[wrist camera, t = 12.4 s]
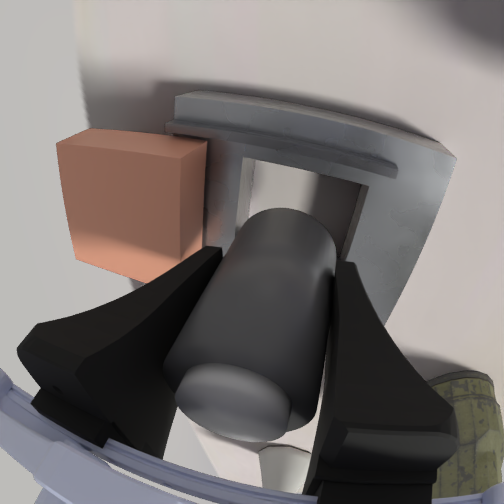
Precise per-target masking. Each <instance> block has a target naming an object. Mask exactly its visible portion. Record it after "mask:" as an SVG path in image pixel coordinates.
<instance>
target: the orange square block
mask: <svg viewBox="0 0 504 504" xmlns="http://www.w3.org/2000/svg"><path fill="white" fill-rule="evenodd" d="M56 147H57V155H58V164H59V172H60V179H61V186H62V192H63V198H64V204H65V209H66V215H67V220H68V225H69V230H70V235H71V239H72V244H73V248H74V252H75V256H76V259H77V260H80V261H83V262H85V263H88V264H91V265H94V266H97V267H100V268H102V269H106V270H109V271H112V272H115V273H117V274H120V275H123V276H126V277H129V278H132V279H135V280H138V281H141V282H144V283H149V282H150V281H152V280H154V279H155V278H157V277H159V276H160V275H162V274H164V273H165V272H167V271H168V270H170V269H171V268H173V267H174V266H176V265H177V264H179V263H180V262H182V261H183V260H185V259H186V258H188V257H189V256H191V255H192V254H194V253H195V252H197V251H198V250H200V249H202V230H203V206H204V185H205V167H206V151H207V141H205V140H198V139H191V138H184V137H176V136H168V135H160V134H151V133H142V132H132V131H121V130H109V129H95V128H89V129H87V130H85V131H82V132H80V133H78V134H75V135H73V136H71V137H69V138H67V139H65V140H62V141H60V142H58V143H56Z"/></svg>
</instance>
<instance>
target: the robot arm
mask: <svg viewBox="0 0 504 504" xmlns="http://www.w3.org/2000/svg"><path fill="white" fill-rule="evenodd" d="M222 259H223V251H222V247H215V246H205V247H203V248H202V249H200V250H198V251H197V252H195V253H194V254H192V255H191V256H189V257H188V258H186V259H185V260H183V261H182V262H180V263H179V264H177V265H176V266H174V267H173V268H171V269H170V270H168V271H167V272H165V273H164V274H162V275H160V276H159V277H157V278H155V279H154V280H152V281H150V282H149V283H147V284H145V285H144V286H142V287H140V288H138V289H136V290H135V291H133V292H131V293H129V294H127V295H125V296H123V297H120V298H118V299H116V300H114V301H111V302H109V303H106V304H104V305H101V306H99V307H96V308H94V309H91V310H88V311H85V312H82V313H79V314H76V315H73V316H69V317H65V318H61V319H57V320H53V321H48V322H43V323H38V324H37V325H35V327H34V328H33V329H32V330H31V332H30V333H29V334H28V335H27V336H26V337H25V339H24V340H23V341H22V342H21V343H20V345H19V346H18V347H17V354H18V357H19V359H20V361H21V362H22V364H23V365H24V367H25V368H26V369H27V370H28V372H29V373H30V375H31V376H32V377H33V379H34V380H35V381H36V382H37V384H38V385H39V386H40V387H41V389H40V390H39V392H38V393H37V394H36V396H35V397H33V396H31V395H30V394H28V393H26V392H25V391H24V390H22V389H21V388H19V387H17V386H16V385H15V384H13V382H12V380H11V379H10V378H9V377H8V375H7V374H6V373H5V372H4V371H3V370H2V369H1V368H0V447H2V448H3V449H4V450H5V451H6V452H7V453H8V454H9V455H10V456H12V457H13V458H14V459H15V460H16V461H17V462H19V463H20V464H21V465H22V466H23V467H25V468H26V469H27V470H28V471H29V472H31V473H32V474H33V477H34V480H35V481H36V482H37V483H38V484H40V485H41V486H42V487H43V489H42V490H41V492H40V494H39V496H38V498H37V500H36V501H35V503H34V504H197V503H194V502H192V501H189V500H186V499H183V498H180V497H177V496H175V495H172V494H170V493H167V492H165V491H162V490H160V489H158V488H155V487H153V486H150V485H148V484H145V483H143V482H141V481H138V480H136V479H133V478H131V477H129V476H127V475H124V474H122V473H120V472H118V471H116V470H114V469H112V468H111V467H110V466H109V465H108V464H107V463H106V462H105V461H103V460H106V461H107V462H109V463H112V464H114V465H116V466H118V467H120V468H122V469H124V470H127V471H129V472H131V473H133V474H136V475H138V476H140V477H143V478H145V479H148V480H151V481H153V482H155V483H158V484H160V485H163V486H166V487H169V488H171V489H174V490H177V491H180V492H183V493H186V494H189V495H192V496H195V497H198V498H202V499H205V500H208V501H212V502H215V503H219V504H504V482H502V483H499V484H496V485H494V486H492V487H490V488H489V489H487V490H486V491H485V492H484V493H479V494H473V495H466V496H458V497H449V498H438V499H432V486H433V484H434V483H436V481H437V469H438V468H439V467H440V466H441V465H443V464H444V463H445V462H446V461H447V460H449V459H450V458H451V457H452V456H453V455H454V454H455V452H456V451H457V450H458V449H459V445H460V438H459V428H458V423H457V418H456V414H455V410H454V408H453V407H452V406H451V405H450V404H449V403H448V402H447V401H446V400H445V399H444V398H442V397H441V396H440V395H439V394H438V393H437V392H436V391H435V390H434V389H433V388H432V387H431V386H430V385H429V384H428V383H427V382H426V381H425V380H424V379H423V378H422V377H421V376H420V375H419V374H418V372H417V371H416V370H415V369H414V368H413V366H412V365H411V364H410V363H409V362H408V360H407V359H406V358H405V357H404V355H403V354H402V353H401V351H400V350H399V348H398V347H397V346H396V344H395V343H394V341H393V340H392V338H391V337H390V335H389V334H388V332H387V330H386V329H385V327H384V325H383V324H382V322H381V320H380V318H379V317H378V315H377V313H376V311H375V309H374V307H373V305H372V303H371V301H370V299H369V297H368V295H367V292H366V290H365V288H364V285H363V283H362V280H361V278H360V275H359V272H358V269H357V265H356V264H355V263H354V262H348V261H339V260H336V267H335V275H334V284H333V294H332V307H331V316H330V324H329V332H328V340H327V348H326V363H325V382H324V392H323V398H322V404H321V410H320V415H319V421H318V426H317V431H316V436H315V441H314V445H313V450H312V455H311V459H310V463H309V468H308V472H307V476H306V480H305V484H304V488H303V492H302V494H295V493H289V492H283V491H277V490H271V489H266V488H261V487H256V486H251V485H247V484H242V483H238V482H234V481H230V480H226V479H222V478H219V477H215V476H211V475H208V474H204V473H201V472H198V471H194V470H191V469H188V468H185V467H182V466H179V465H176V464H173V463H170V462H167V461H164V460H163V456H164V451H165V448H166V444H167V440H168V436H169V432H170V429H171V426H172V423H173V419H174V416H175V413H176V410H177V407H178V405H177V403H176V401H175V394H174V393H173V392H172V390H171V389H170V387H169V386H168V384H167V383H166V381H165V378H164V375H163V363H164V360H165V358H166V356H167V355H168V353H169V351H170V349H171V348H172V346H173V344H174V342H175V341H176V339H177V337H178V335H179V333H180V332H181V330H182V328H183V326H184V325H185V323H186V321H187V319H188V318H189V316H190V314H191V313H192V311H193V309H194V307H195V306H196V304H197V302H198V300H199V299H200V297H201V295H202V293H203V292H204V290H205V288H206V287H207V285H208V283H209V281H210V280H211V278H212V276H213V275H214V273H215V271H216V269H217V268H218V266H219V264H220V263H221V261H222ZM93 454H94V455H93ZM96 456H97V457H96ZM98 457H99V458H98ZM100 458H101V459H103V460H101V459H100Z"/></svg>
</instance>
